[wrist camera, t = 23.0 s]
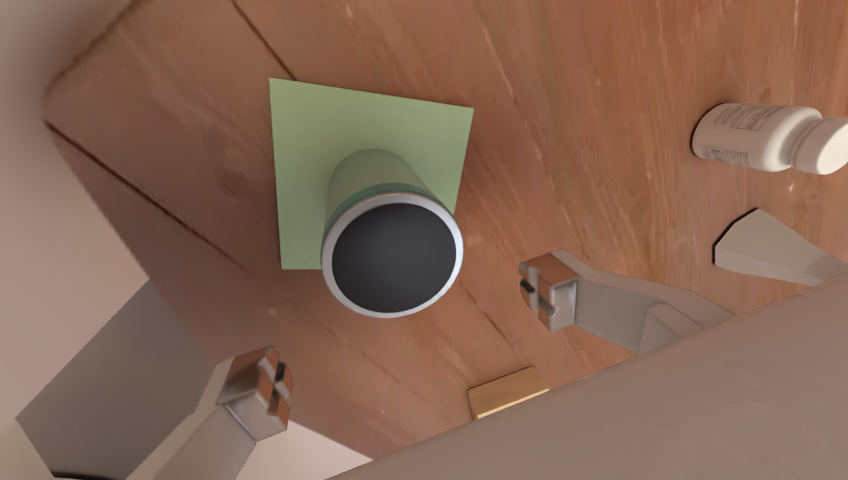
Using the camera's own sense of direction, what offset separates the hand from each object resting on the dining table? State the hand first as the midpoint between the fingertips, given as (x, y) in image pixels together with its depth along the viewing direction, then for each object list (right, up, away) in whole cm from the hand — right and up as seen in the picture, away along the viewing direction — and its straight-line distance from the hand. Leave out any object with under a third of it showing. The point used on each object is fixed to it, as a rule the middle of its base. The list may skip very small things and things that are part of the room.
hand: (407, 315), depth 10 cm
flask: (+35, +3, +24) cm, 42 cm away
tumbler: (-1, +1, +8) cm, 8 cm away
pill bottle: (+25, +12, +16) cm, 32 cm away
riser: (+10, -16, +26) cm, 32 cm away
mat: (-3, +6, +11) cm, 13 cm away
